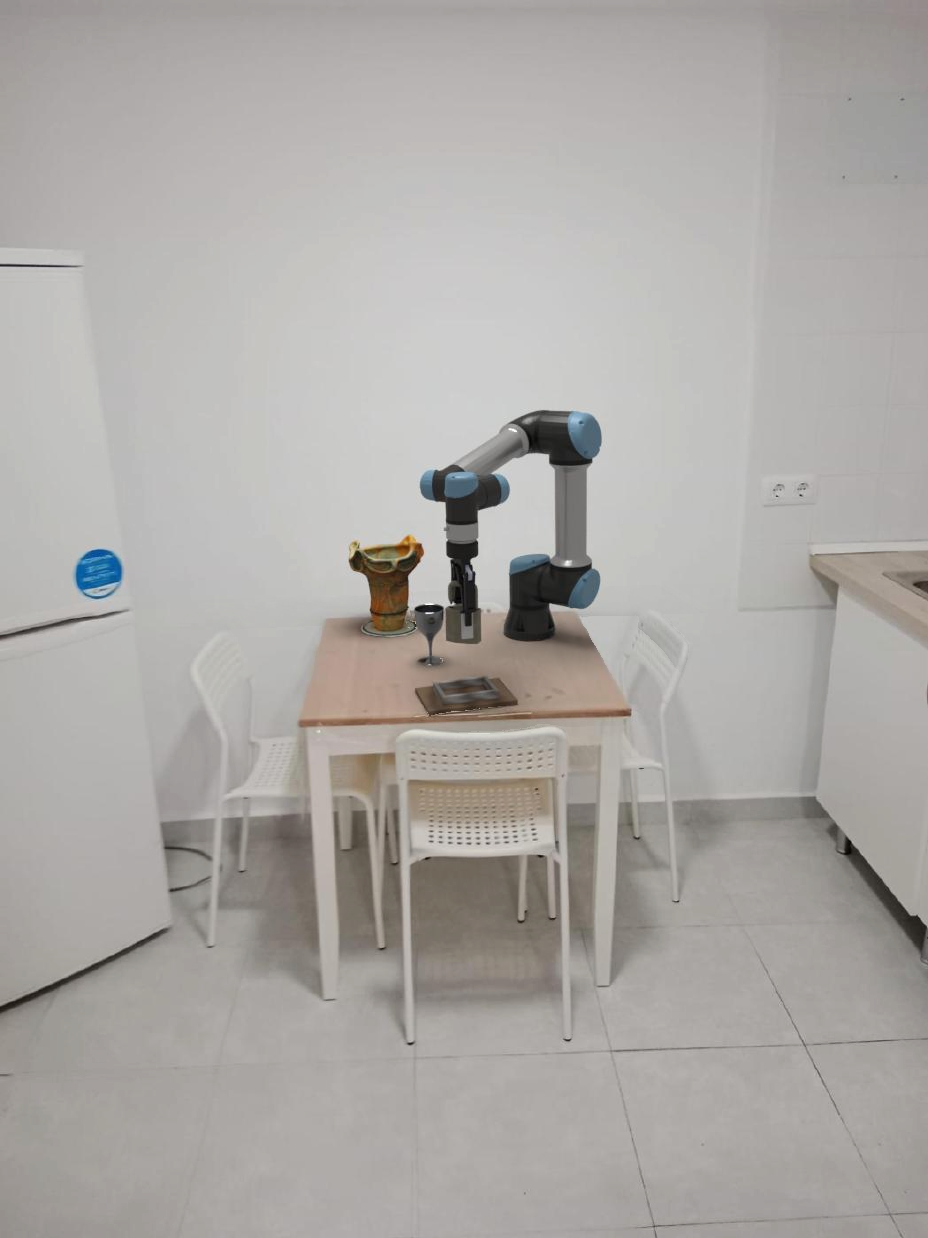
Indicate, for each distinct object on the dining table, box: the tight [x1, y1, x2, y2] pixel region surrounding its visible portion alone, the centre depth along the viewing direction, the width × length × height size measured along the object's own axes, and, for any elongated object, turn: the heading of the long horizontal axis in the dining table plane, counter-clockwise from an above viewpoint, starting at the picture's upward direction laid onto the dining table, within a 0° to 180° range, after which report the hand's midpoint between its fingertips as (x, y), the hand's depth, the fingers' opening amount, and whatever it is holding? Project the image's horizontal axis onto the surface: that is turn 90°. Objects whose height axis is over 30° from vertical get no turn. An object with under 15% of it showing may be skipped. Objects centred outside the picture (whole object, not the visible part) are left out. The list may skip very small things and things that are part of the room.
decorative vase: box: [348, 534, 425, 638], centre depth 279 cm, size 21×23×28 cm
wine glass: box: [413, 603, 445, 666], centre depth 254 cm, size 8×8×15 cm
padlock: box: [444, 581, 482, 645], centre depth 224 cm, size 4×8×15 cm, turn 71°
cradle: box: [414, 675, 519, 717], centre depth 231 cm, size 22×15×3 cm
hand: (463, 633), depth 226 cm, fingers closed on padlock, 6 cm apart
